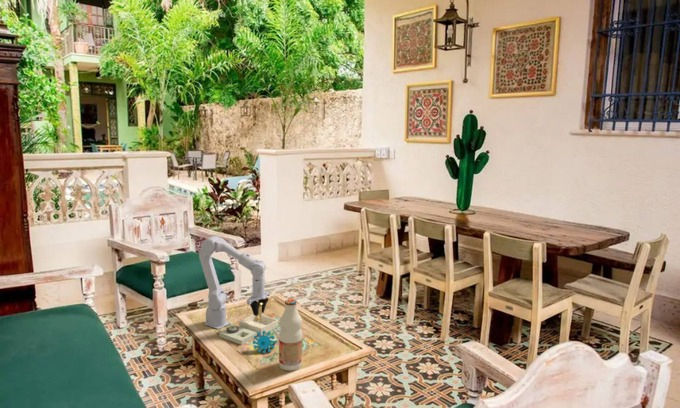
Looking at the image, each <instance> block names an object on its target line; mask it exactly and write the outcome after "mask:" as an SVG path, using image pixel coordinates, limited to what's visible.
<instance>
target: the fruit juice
mask: <svg viewBox="0 0 680 408" xmlns="http://www.w3.org/2000/svg"><path fill="white" fill-rule="evenodd" d="M297 305H298V299H295V298H287V299H285V300H284V306H285V308H284V311H283V313H282V315H280V318H279V327H280V330H279V333H278V334H279V335H278V364H279V368H280V369H281V370H284V371H296V370H298V369H300V368H301V367H302V364H303V330H302V325H303V319H302V316H301V315H300V313H299V311H298V307H297Z"/></svg>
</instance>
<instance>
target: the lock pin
mask: <svg viewBox="0 0 680 408" xmlns="http://www.w3.org/2000/svg"><path fill="white" fill-rule="evenodd" d="M257 302H258V303H260V305H259V309H258V316H255V321H261V316H262V315H263V313H262V305H263V302H261V301H258V300H257Z"/></svg>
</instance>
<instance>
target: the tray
mask: <svg viewBox="0 0 680 408" xmlns="http://www.w3.org/2000/svg"><path fill="white" fill-rule="evenodd" d="M238 326H239V327H242V328H245V329H248V330H251V331H254V332H257V333H258V332H260V333H261V334H260V336H262V335H263V333H262V332H263V331H266V333H265V334H266V335H267V334H268V332H271V331H273V330H274V329H277V328H278V327H279V319H276V318H274V317H270V316H267V315H264V314H262V316H261V321H255V315H254V314H252V315H250V316H248V317H245V318H243V319H241V320H239V321H238ZM265 334H264V335H265Z"/></svg>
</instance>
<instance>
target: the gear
mask: <svg viewBox="0 0 680 408" xmlns="http://www.w3.org/2000/svg"><path fill="white" fill-rule="evenodd" d="M262 333H263V335H262V336H261V335H260V334H261V333H260V332H258V333H257V336H256V335H255V336H254V338H253V339H252V340H253V341H252V344H254V346H253V349H257V353H261V351H262V354H263V355H264V354H266V353H271V352H272V350H274V349H275V345H276V344H278V343H279V339H276V340H275V336H274V335H272V336H271V331H269V332H267V333H266V331H263V332H262ZM265 333H266V335H265ZM255 344H256V345H255ZM271 349H272V350H271ZM266 350H267V351H266Z"/></svg>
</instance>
